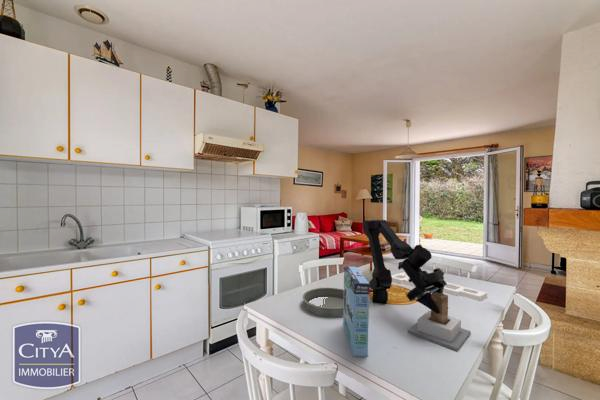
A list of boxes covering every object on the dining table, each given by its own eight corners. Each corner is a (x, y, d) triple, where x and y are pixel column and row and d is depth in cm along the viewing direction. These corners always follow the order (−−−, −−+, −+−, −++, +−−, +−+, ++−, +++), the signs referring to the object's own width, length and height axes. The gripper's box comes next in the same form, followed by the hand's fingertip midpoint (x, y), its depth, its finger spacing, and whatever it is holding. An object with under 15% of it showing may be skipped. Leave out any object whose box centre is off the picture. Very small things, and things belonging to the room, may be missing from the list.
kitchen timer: (383, 285, 147) (383, 259, 147) (385, 294, 133) (385, 265, 133) (357, 283, 150) (358, 257, 150) (357, 292, 137) (357, 263, 137)
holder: (487, 298, 131) (487, 292, 131) (471, 306, 120) (471, 300, 120) (405, 276, 167) (405, 271, 167) (388, 280, 157) (388, 276, 157)
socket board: (407, 332, 95) (407, 319, 95) (424, 318, 106) (425, 306, 106) (457, 351, 84) (457, 336, 84) (470, 333, 95) (470, 320, 95)
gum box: (342, 326, 100) (343, 266, 100) (356, 326, 100) (356, 266, 100) (352, 357, 80) (353, 282, 80) (369, 357, 80) (370, 283, 80)
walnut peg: (430, 329, 95) (431, 294, 95) (436, 326, 98) (436, 292, 98) (441, 334, 92) (442, 297, 92) (447, 331, 94) (448, 295, 94)
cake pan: (307, 294, 133) (307, 285, 133) (357, 298, 128) (357, 289, 128) (297, 315, 109) (297, 304, 109) (357, 321, 104) (357, 310, 104)
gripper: (415, 265, 93) (446, 306, 84) (442, 258, 103) (472, 295, 94) (395, 281, 99) (422, 321, 90) (422, 273, 110) (449, 309, 101)
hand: (443, 311), depth 94 cm, fingers open, 6 cm apart
